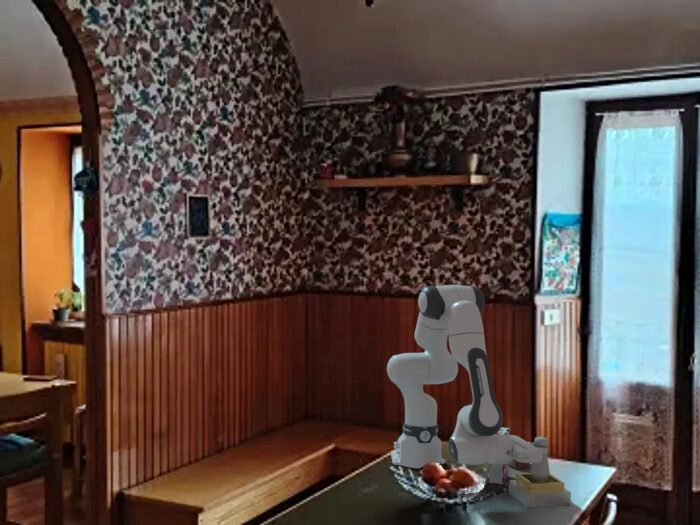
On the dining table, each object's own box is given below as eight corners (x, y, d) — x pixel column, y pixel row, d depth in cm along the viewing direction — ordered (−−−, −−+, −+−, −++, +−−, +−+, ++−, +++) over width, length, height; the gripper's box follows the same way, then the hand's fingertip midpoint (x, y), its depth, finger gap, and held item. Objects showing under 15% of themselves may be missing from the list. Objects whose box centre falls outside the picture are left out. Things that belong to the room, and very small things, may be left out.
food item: (493, 460, 307) (494, 432, 307) (512, 458, 310) (513, 431, 310) (513, 470, 294) (514, 442, 294) (533, 468, 297) (534, 440, 297)
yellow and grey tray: (508, 492, 268) (509, 472, 268) (550, 491, 271) (551, 471, 271) (527, 507, 255) (527, 485, 254) (570, 505, 257) (571, 484, 257)
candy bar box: (493, 474, 288) (495, 426, 288) (508, 476, 287) (510, 427, 286) (487, 483, 278) (489, 433, 277) (503, 485, 276) (505, 435, 276)
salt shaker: (549, 483, 259) (550, 440, 259) (530, 481, 260) (531, 439, 260) (549, 477, 265) (550, 436, 264) (530, 476, 266) (532, 434, 266)
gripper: (515, 447, 249) (559, 446, 252) (489, 431, 269) (530, 430, 272) (514, 468, 249) (558, 467, 252) (489, 451, 269) (529, 450, 272)
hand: (543, 448), depth 262 cm, fingers closed on salt shaker, 3 cm apart
